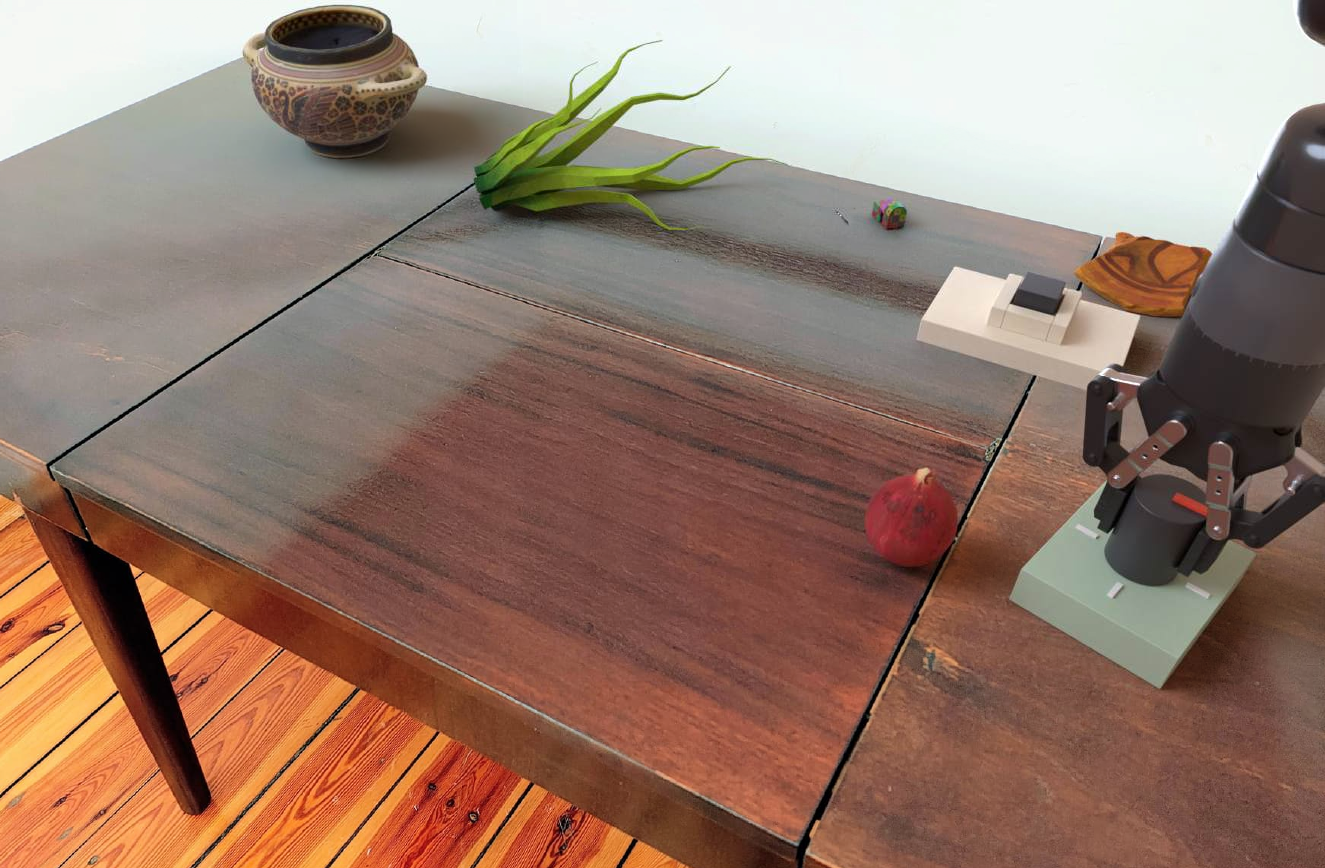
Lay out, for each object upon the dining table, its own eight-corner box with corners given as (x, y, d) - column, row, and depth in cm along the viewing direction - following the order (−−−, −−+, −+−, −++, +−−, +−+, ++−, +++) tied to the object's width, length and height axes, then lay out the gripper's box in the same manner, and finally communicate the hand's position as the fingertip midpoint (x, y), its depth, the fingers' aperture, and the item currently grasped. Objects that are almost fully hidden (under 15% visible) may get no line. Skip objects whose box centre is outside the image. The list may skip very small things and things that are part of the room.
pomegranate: (937, 601, 67) (967, 514, 62) (849, 578, 69) (871, 491, 63) (947, 541, 71) (976, 454, 66) (864, 520, 73) (885, 434, 67)
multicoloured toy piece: (912, 225, 103) (917, 204, 102) (886, 229, 103) (890, 207, 101) (893, 206, 106) (897, 185, 105) (867, 209, 106) (871, 188, 104)
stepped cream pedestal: (949, 286, 95) (959, 248, 92) (1132, 336, 89) (1148, 297, 86) (915, 340, 89) (926, 300, 86) (1110, 398, 83) (1127, 357, 80)
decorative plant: (756, 265, 98) (774, 115, 88) (466, 220, 104) (452, 75, 94) (785, 181, 111) (805, 41, 101) (525, 145, 117) (519, 10, 107)
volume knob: (1092, 561, 66) (1123, 495, 62) (1121, 525, 68) (1153, 459, 64) (1161, 597, 63) (1198, 531, 59) (1188, 559, 66) (1226, 493, 62)
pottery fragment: (1218, 247, 94) (1202, 278, 87) (1198, 294, 97) (1181, 328, 90) (1104, 219, 99) (1080, 247, 92) (1087, 265, 101) (1063, 295, 94)
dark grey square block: (1021, 289, 88) (1027, 271, 87) (1060, 299, 87) (1066, 281, 86) (1012, 306, 86) (1018, 288, 85) (1051, 317, 85) (1058, 299, 84)
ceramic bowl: (238, 155, 122) (178, 38, 109) (341, 72, 129) (295, -46, 116) (385, 217, 111) (335, 95, 99) (488, 123, 118) (454, -2, 106)
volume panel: (1093, 509, 73) (1108, 477, 71) (1237, 584, 68) (1258, 551, 66) (1008, 599, 67) (1022, 566, 65) (1159, 689, 62) (1180, 657, 60)
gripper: (1448, 346, 51) (1288, 576, 63) (1165, 240, 59) (1069, 463, 70) (1400, 412, 47) (1239, 644, 59) (1103, 289, 55) (1013, 517, 66)
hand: (1147, 544), depth 65 cm, fingers closed on volume knob, 4 cm apart
